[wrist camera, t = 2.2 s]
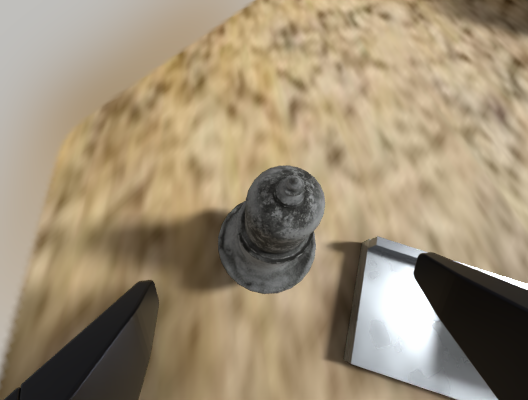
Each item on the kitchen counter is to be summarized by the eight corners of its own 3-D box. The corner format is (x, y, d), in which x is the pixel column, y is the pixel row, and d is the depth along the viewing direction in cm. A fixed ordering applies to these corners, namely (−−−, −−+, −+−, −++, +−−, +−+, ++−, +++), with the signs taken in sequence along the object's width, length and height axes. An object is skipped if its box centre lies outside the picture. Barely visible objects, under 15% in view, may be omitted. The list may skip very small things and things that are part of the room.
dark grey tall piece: (205, 246, 18) (149, 163, 7) (267, 199, 20) (300, 73, 9) (257, 314, 17) (290, 342, 6) (318, 257, 19) (434, 194, 8)
